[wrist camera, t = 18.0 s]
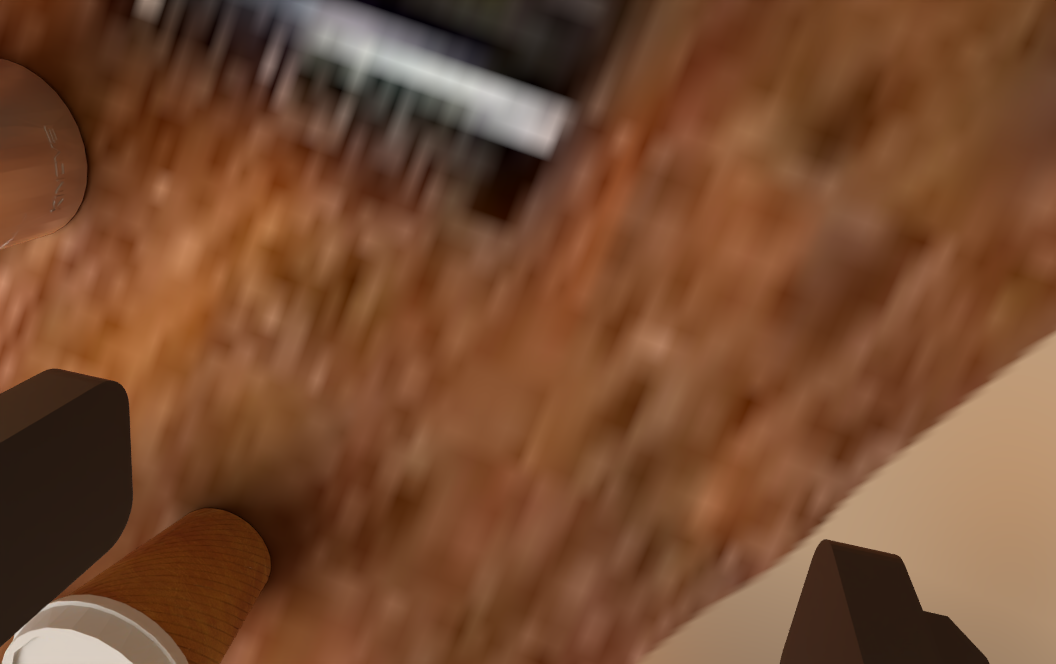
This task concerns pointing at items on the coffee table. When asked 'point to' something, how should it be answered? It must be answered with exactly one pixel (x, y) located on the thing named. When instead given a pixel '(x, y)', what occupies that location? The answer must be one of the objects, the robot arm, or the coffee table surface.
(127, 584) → the disposable coffee cup
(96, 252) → the coffee table surface
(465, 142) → the coffee table surface
